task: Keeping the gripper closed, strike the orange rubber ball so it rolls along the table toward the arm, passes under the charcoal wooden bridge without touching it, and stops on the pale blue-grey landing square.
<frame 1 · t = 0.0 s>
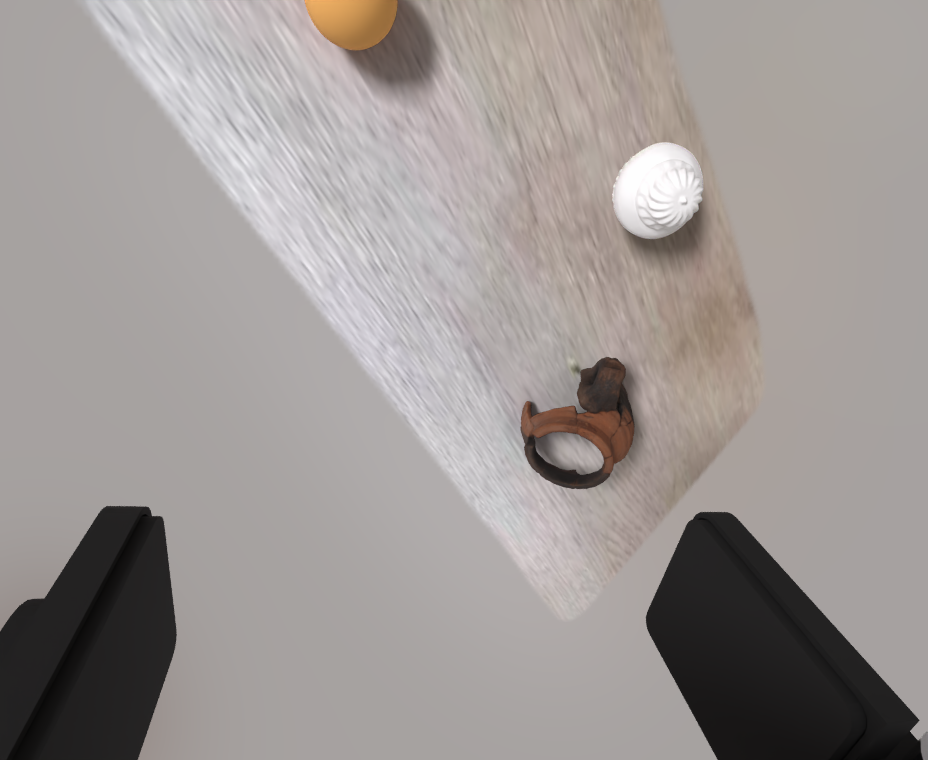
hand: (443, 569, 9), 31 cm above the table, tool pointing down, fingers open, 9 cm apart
muffin: (633, 185, 39), on the table
broken clay pot: (573, 398, 47), on the table
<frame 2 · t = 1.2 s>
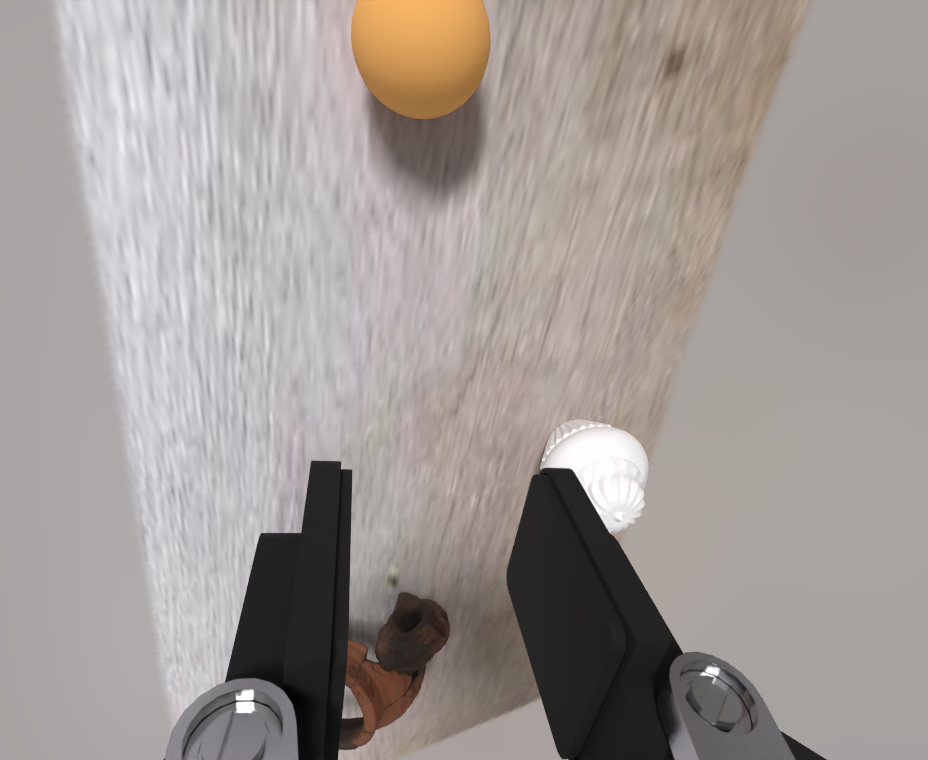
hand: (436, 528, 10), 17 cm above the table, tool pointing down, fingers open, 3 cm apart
muffin: (571, 439, 32), on the table
ball: (421, 42, 19), on the table
broken clay pot: (372, 610, 36), on the table
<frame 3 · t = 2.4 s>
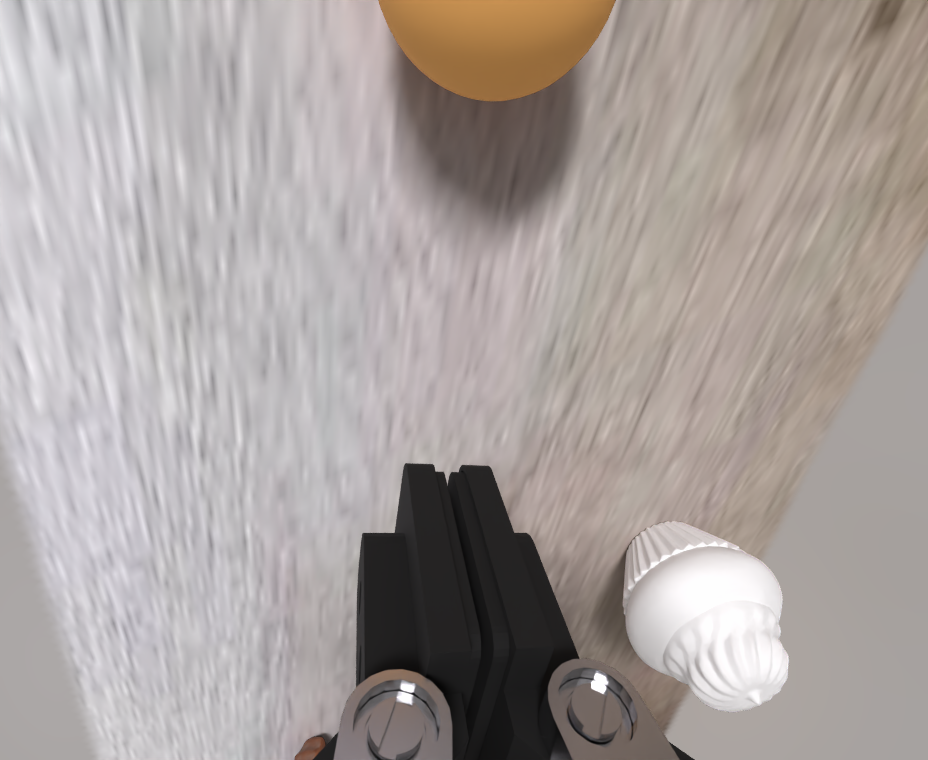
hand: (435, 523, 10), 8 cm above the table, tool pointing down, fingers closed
muffin: (658, 543, 24), on the table
broken clay pot: (391, 745, 29), on the table
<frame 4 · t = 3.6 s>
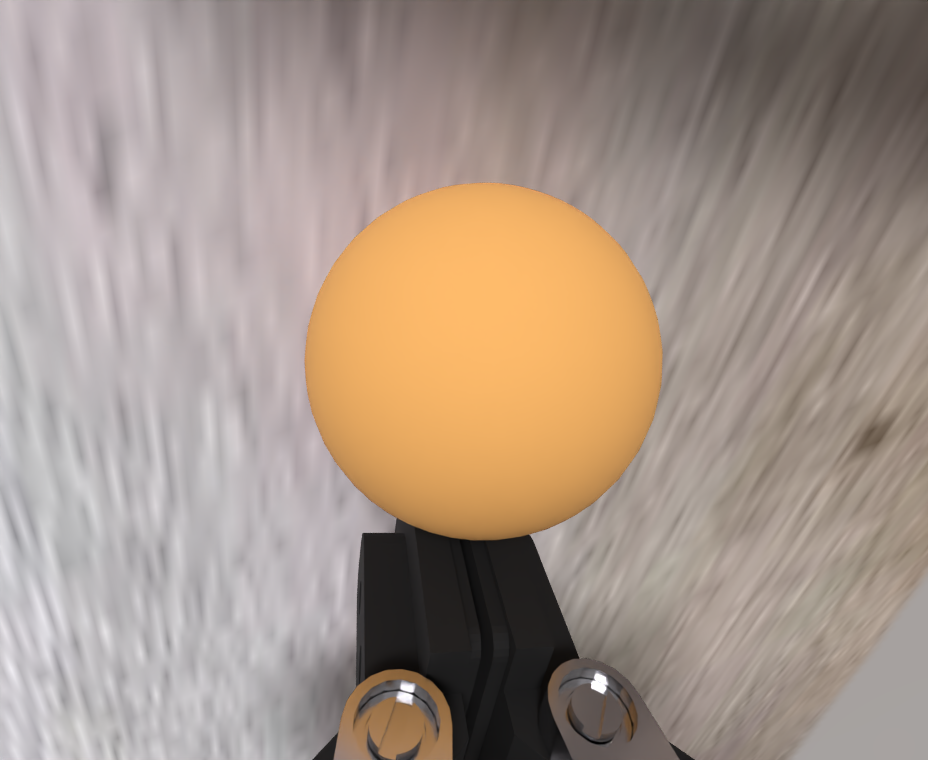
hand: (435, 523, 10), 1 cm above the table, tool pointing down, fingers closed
ball: (481, 363, 8), on the table
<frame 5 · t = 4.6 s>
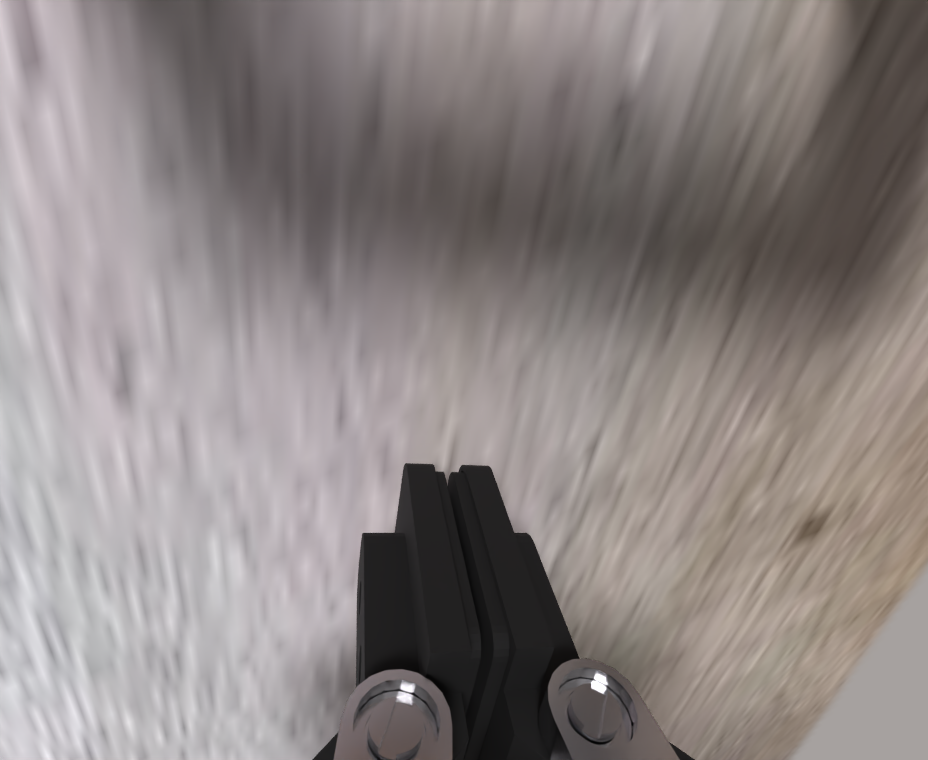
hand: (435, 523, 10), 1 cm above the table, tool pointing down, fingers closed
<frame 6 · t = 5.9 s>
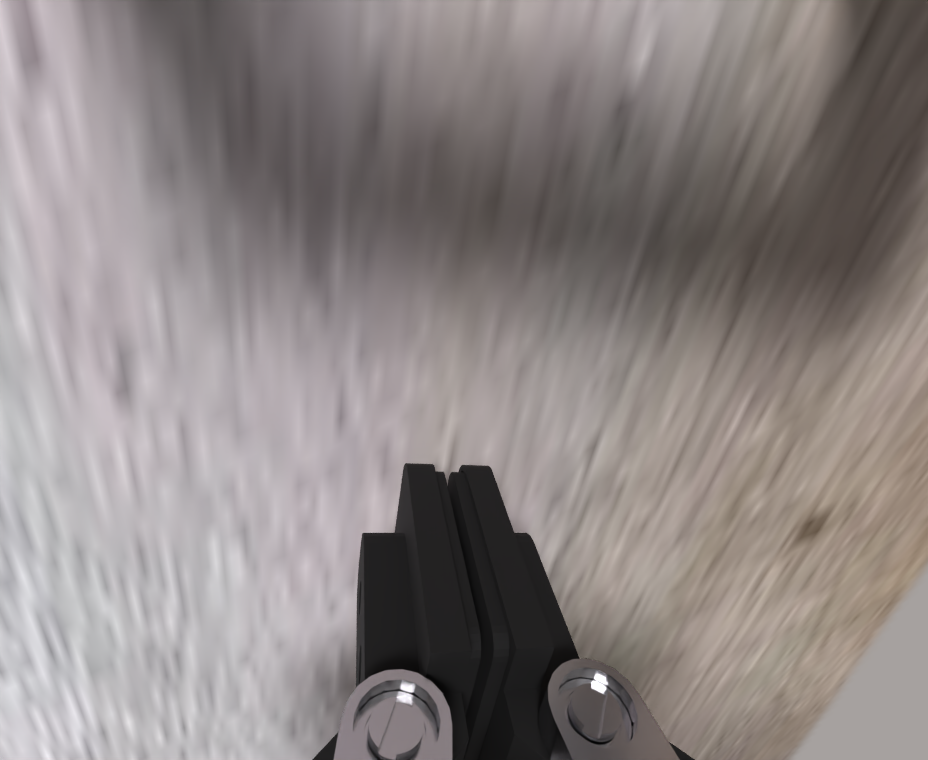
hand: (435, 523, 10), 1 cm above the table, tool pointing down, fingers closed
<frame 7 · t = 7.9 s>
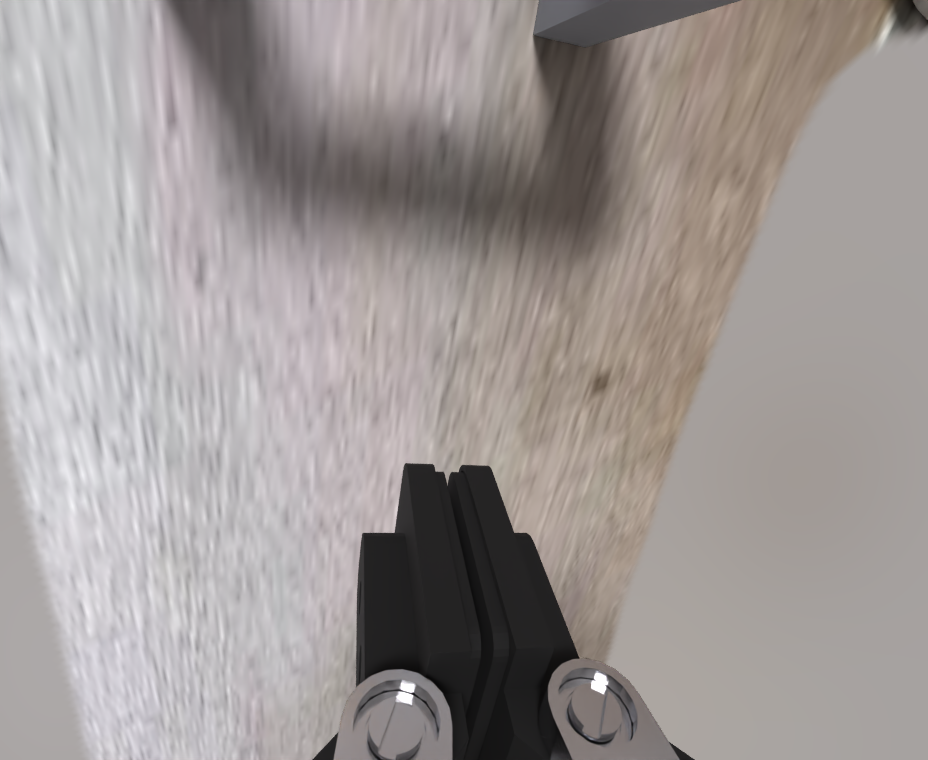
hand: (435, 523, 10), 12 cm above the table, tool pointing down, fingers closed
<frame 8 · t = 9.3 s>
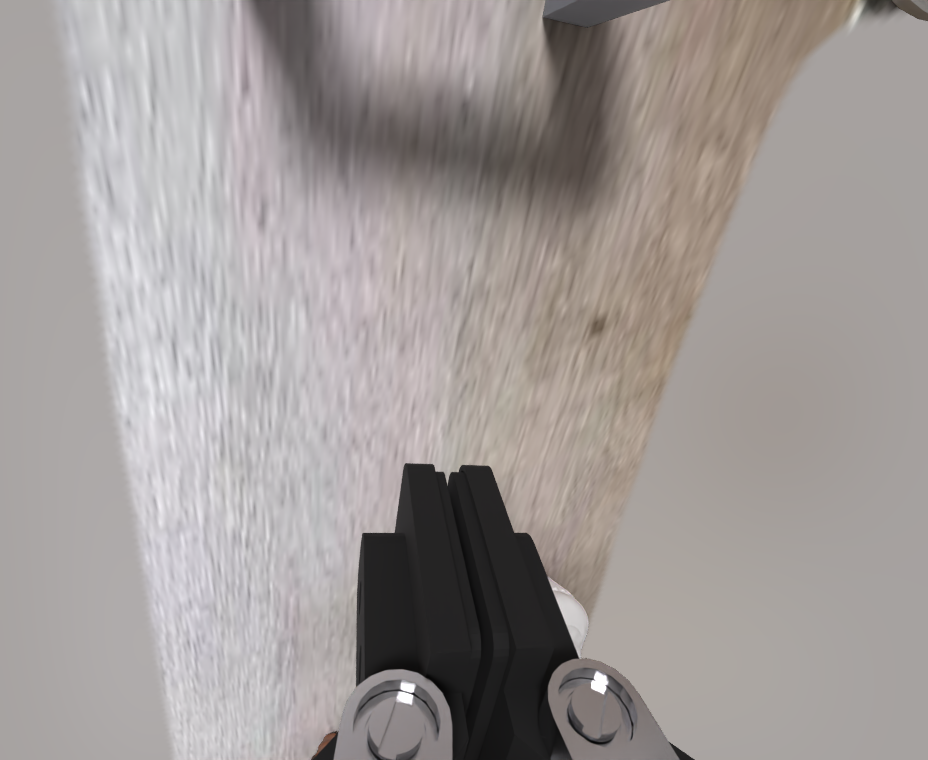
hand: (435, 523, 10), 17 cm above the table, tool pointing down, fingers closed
muffin: (527, 585, 38), on the table
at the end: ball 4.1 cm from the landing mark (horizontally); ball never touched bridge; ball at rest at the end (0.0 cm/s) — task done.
